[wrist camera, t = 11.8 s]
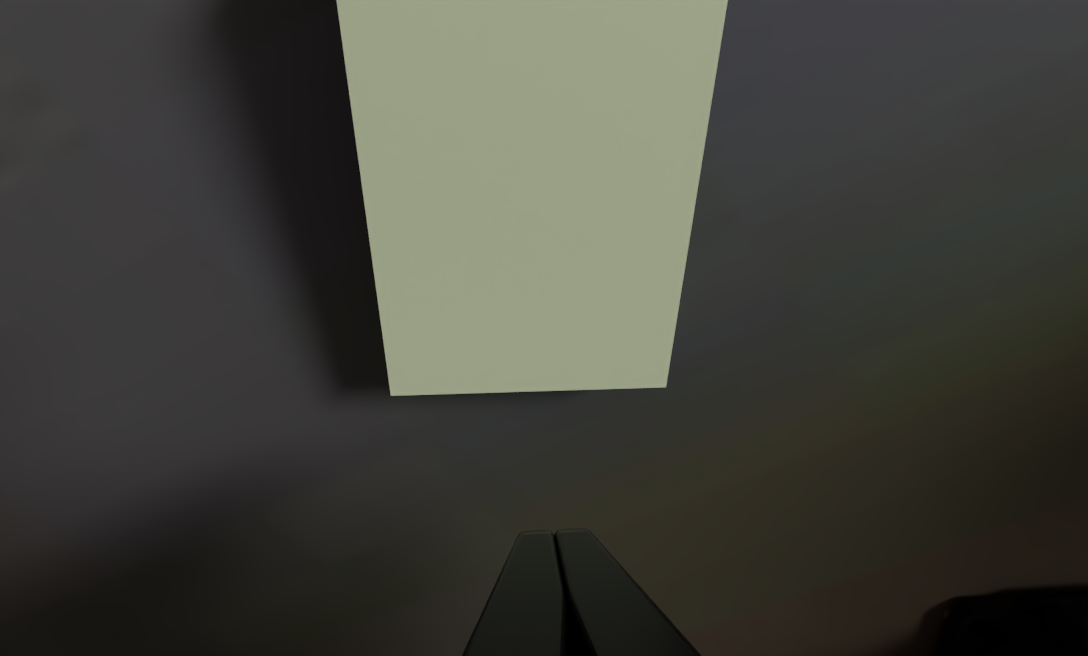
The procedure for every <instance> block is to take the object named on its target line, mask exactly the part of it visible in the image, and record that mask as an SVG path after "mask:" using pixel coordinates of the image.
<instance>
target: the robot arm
mask: <svg viewBox="0 0 1088 656" xmlns="http://www.w3.org/2000/svg"><path fill="white" fill-rule="evenodd" d="M462 656H701V655H700V654H699V652H698V651H697V650H696V649H695V648H694V647H693V646H692V645H691V643H690V642H689V641H688V640H687V639H686V638H685V637H684V636H683V634H682V633H681V632H680V631H679V630H678V629H677V628H676V627H675V626H674V624H673V623H672V622H671V621H670V620H669V619H668V618H667V617H666V615H665V614H664V613H663V612H662V611H661V610H660V609H659V608H658V607H657V605H656V604H655V603H654V602H653V601H652V600H651V599H650V598H649V596H648V595H647V594H646V593H645V592H644V591H643V590H642V589H641V587H640V586H639V585H638V584H637V583H636V582H635V581H634V580H633V579H632V577H631V576H630V575H629V574H628V573H627V572H626V571H625V570H624V568H623V567H622V566H621V565H620V564H619V563H618V562H617V561H616V560H615V558H614V557H613V556H612V555H611V554H610V553H609V552H608V551H607V549H606V548H605V547H604V546H603V545H602V544H601V543H600V542H599V541H598V539H597V538H596V537H595V536H594V535H593V534H592V533H591V532H590V531H589V530H587V529H563V530H558V531H556V532H555V534H554V535H553V533H552V532H551V531H549V530H543V531H524V532H521V533H520V534H519V535H518V536H517V538H516V540H515V543H514V545H513V547H512V549H511V551H510V553H509V555H508V558H507V560H506V562H505V564H504V566H503V568H502V571H501V573H500V575H499V577H498V579H497V581H496V583H495V586H494V588H493V590H492V592H491V594H490V596H489V598H488V601H487V603H486V605H485V607H484V609H483V611H482V614H481V616H480V618H479V620H478V622H477V624H476V626H475V629H474V631H473V633H472V635H471V637H470V639H469V641H468V644H467V646H466V648H465V650H464V652H463V654H462ZM937 656H1088V593H1073V594H1057V595H1040V596H1024V597H1008V598H991V599H975V600H969V601H965V602H963V603H961V604H959V605H957V606H956V607H955V608H954V609H953V610H952V612H951V613H950V615H949V618H948V621H947V624H946V627H945V631H944V634H943V637H942V640H941V643H940V647H939V650H938V653H937Z"/></svg>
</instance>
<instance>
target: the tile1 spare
mask: <svg viewBox="0 0 1088 656" xmlns="http://www.w3.org/2000/svg"><path fill="white" fill-rule="evenodd" d="M336 1H337V9H338V16H339V23H340V30H341V38H342V45H343V52H344V60H345V67H346V74H347V81H348V89H349V96H350V103H351V110H352V118H353V125H354V132H355V140H356V147H357V154H358V161H359V169H360V176H361V183H362V190H363V198H364V205H365V212H366V220H367V227H368V234H369V241H370V249H371V256H372V263H373V270H374V278H375V285H376V292H377V300H378V307H379V314H380V321H381V329H382V336H383V343H384V350H385V358H386V365H387V372H388V380H389V387H390V394H391V396H404V395H436V394H468V393H500V392H532V391H564V390H595V389H627V388H659V387H666V384H667V378H668V371H669V365H670V359H671V353H672V346H673V340H674V334H675V328H676V321H677V315H678V309H679V303H680V296H681V290H682V284H683V277H684V271H685V265H686V259H687V252H688V246H689V240H690V234H691V227H692V221H693V215H694V209H695V202H696V196H697V190H698V184H699V177H700V171H701V165H702V158H703V152H704V146H705V140H706V133H707V127H708V121H709V115H710V108H711V102H712V96H713V90H714V83H715V77H716V71H717V64H718V58H719V52H720V46H721V39H722V33H723V27H724V21H725V14H726V8H727V2H728V0H336Z"/></svg>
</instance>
